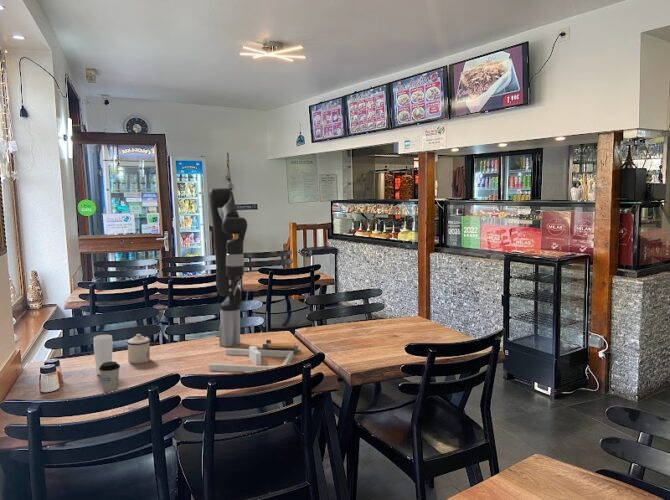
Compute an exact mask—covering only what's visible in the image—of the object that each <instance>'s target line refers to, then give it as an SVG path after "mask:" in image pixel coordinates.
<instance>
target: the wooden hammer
mask: <svg viewBox="0 0 670 500" xmlns="http://www.w3.org/2000/svg"><path fill="white" fill-rule="evenodd" d="M267 344H268V348H294V347H295V346H297V344H296V342H271V343H267Z"/></svg>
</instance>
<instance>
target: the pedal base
mask: <svg viewBox="0 0 670 500" xmlns="http://www.w3.org/2000/svg"><path fill="white" fill-rule="evenodd" d="M265 342H266V343H263V344H262V347H261V349H260V350H279V351H293V356H294V355H295V356H296V353H297V352H298V350H299V345H295V347H294V348H268V344H267V343H272V340H271V339H266V341H265Z"/></svg>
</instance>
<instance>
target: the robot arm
mask: <svg viewBox="0 0 670 500" xmlns="http://www.w3.org/2000/svg"><path fill="white" fill-rule="evenodd" d="M234 196H235V195H234V193H233V191H232V189H230V188H227V187H224V188H220V187H219V188H210V189H209V191H208V199H209V206H210V207H209V208H210V213H211V214H210V215H211V220H212V231H213V246H214V253H215V264H216V265H215V267H216V269H215V270H216V271H215V273H216V275H215V281H216V282H215V285H216V291H217V293H218V294H219V295H220V296H221V297H225V298H224V300H223V301H222V302H221V303H220V305H219V306H220V307H219V308H220V309H219V311H220V317H219V318H220V325H219V326H218V336H219V337H218V339H219V341H218V343H219V346H223V347H236V346H239V345H240V344H241V304H242V298H243V297H242V296H243V288H244V287H243V285H244V284H243V276H244V274H245V259H244V257H245V256H244V241H245V236H246V233H247V230H248V221H247V219H246V218H244V217H241V216H240V215H239V212H238V210H237V207H236V202H235V197H234ZM219 209H221V210H220V211H221V212H220V213H219ZM234 235H237V236H236V238H234Z"/></svg>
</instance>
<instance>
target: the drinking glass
mask: <svg viewBox="0 0 670 500" xmlns="http://www.w3.org/2000/svg"><path fill="white" fill-rule="evenodd" d="M113 344H114V343H113V335H111V334H100V335H98V334H97V335H96V336H94V337H93V353H94V360H95V367H96V374H97V375H98V376H101V374H100V370H99V367H100V366H101V365H102V364H103V363H105V362H112V361H113V360H112V359H113Z"/></svg>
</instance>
